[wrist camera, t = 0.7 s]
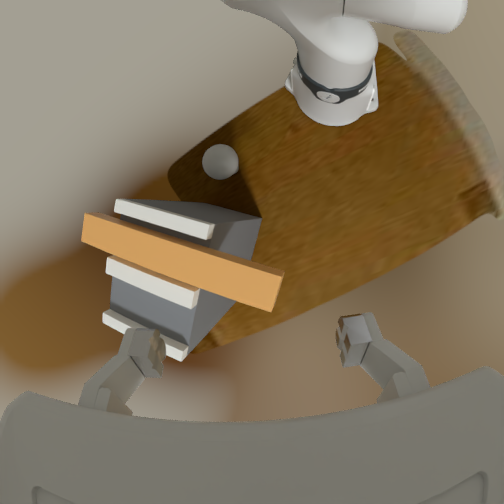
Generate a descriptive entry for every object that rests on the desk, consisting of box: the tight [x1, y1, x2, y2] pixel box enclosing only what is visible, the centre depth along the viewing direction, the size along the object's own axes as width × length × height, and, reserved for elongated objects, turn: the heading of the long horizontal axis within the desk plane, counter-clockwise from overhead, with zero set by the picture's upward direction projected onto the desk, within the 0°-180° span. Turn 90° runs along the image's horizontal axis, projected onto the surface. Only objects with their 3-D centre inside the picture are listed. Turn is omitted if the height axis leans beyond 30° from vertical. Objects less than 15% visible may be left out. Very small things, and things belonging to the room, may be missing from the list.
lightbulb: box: [202, 144, 239, 180], centre depth 48 cm, size 6×6×11 cm
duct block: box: [103, 199, 262, 361], centre depth 42 cm, size 16×12×28 cm
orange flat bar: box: [81, 212, 285, 312], centre depth 28 cm, size 4×24×2 cm, turn 75°
